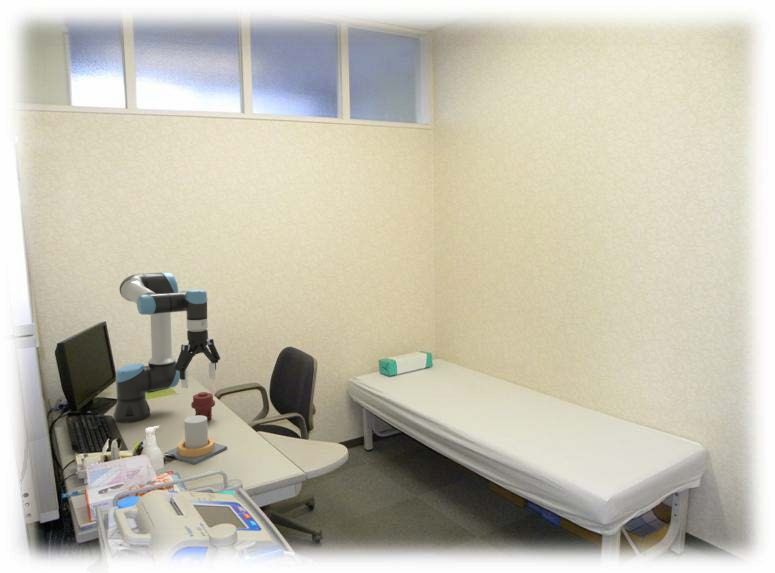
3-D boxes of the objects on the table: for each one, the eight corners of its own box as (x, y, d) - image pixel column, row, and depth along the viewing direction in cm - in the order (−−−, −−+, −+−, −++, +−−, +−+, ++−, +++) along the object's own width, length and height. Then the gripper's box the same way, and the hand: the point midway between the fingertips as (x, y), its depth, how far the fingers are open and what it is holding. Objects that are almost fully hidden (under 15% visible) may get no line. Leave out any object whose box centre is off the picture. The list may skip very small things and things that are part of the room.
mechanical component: (219, 417, 246) (208, 424, 237) (199, 415, 248) (187, 423, 239) (218, 390, 245) (207, 397, 235) (198, 389, 247) (186, 395, 237)
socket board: (164, 455, 205) (164, 446, 205) (197, 440, 219) (197, 432, 219) (194, 464, 198) (194, 455, 197) (227, 448, 212) (226, 440, 211)
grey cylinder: (200, 443, 214) (199, 413, 213) (212, 448, 209) (211, 418, 208) (181, 449, 208) (180, 419, 207) (193, 455, 203) (191, 424, 201)
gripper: (177, 336, 197) (179, 393, 200) (228, 325, 219) (229, 376, 221) (163, 334, 201) (165, 389, 203) (215, 323, 222) (216, 373, 225)
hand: (198, 382), depth 212 cm, fingers open, 13 cm apart
